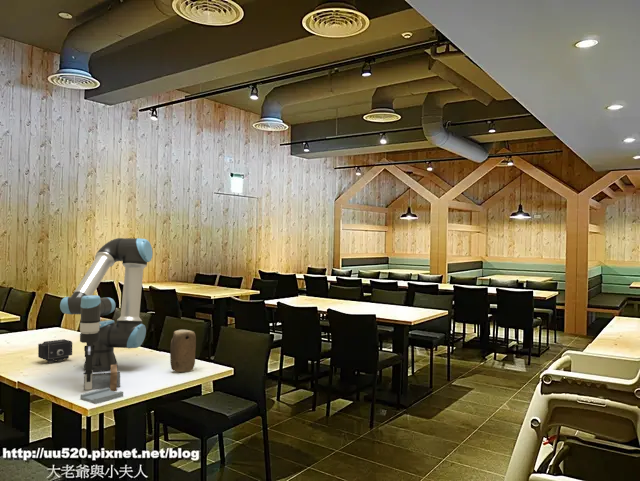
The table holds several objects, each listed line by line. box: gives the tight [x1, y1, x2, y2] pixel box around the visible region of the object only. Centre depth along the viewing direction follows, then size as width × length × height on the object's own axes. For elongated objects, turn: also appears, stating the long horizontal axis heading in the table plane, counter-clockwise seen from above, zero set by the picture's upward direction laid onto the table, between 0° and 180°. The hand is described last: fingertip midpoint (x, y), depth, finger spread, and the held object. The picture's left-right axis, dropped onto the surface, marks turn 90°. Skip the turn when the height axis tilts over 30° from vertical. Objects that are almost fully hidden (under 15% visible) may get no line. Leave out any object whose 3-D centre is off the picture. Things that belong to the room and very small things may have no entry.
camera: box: [37, 339, 73, 364], centre depth 260 cm, size 11×11×15 cm
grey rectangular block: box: [83, 371, 121, 391], centre depth 215 cm, size 14×4×6 cm, turn 113°
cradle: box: [79, 388, 124, 405], centre depth 200 cm, size 12×10×2 cm
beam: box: [110, 363, 118, 392], centre depth 216 cm, size 2×15×8 cm, turn 22°
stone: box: [169, 329, 197, 373], centre depth 245 cm, size 12×7×20 cm, turn 137°
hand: (88, 387), depth 213 cm, fingers closed on grey rectangular block, 4 cm apart
